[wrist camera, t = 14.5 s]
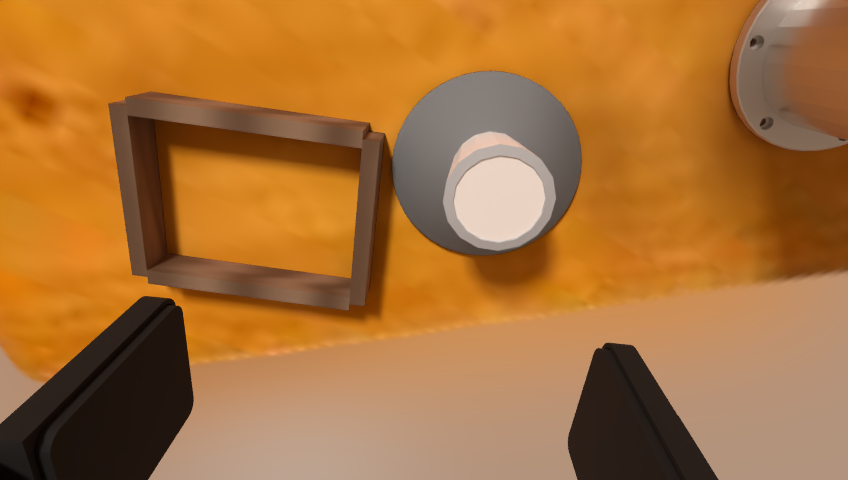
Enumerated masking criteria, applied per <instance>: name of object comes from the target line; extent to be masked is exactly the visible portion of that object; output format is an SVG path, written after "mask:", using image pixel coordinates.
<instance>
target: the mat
mask: <svg viewBox="0 0 848 480" xmlns="http://www.w3.org/2000/svg"><path fill="white" fill-rule="evenodd" d="M489 131H491V132H497V133H503V134H506V135H508V136H509V137H511V138H512V139H514V140H516V141H517V142H519V143H520V144H521V145H523V146H524V147H525V148H527V149H528V150H529V151H531V152H532V153H533V154H535V155H536V156H537V157H539V158H540V159H541V160H542V161H543V163H544V164H545V166H546V167H547V169H548V170H549V172H550V173H551V175H552V177H553V180H554V187H555V194H556V200H555V204H554V207H553V211H552V215H551V218H550V220H549V221H548V222H547V224H546V225H545V226H544V227H543V229H542V230H541V231H540V233H539V234H538V235H537V236H535V237H534V238H532V239H531V240H529V241H527V242H526V243H524V244H522V245H521V246H519V247H514V248H509V249H505V250H500V251H496V250H490V249H483V248H477V247H476V246H474V245H472V244H470V243H469V242H467V241H465V240H463V239H462V238H460V237H459V236H458V234H457V233H456V232H455V230H454V229H453V228H452V227H451V225H450V224H449V223H448V221H447V217H446V213H445V209H444V205H443V198H444V192H445V186H446V181H447V178H448V175H449V172H450V168H451V165H452V162H453V159H454V156H455V155H456V153H457V152H458V150H459V148H460V147H461V145H462V144H463V143H464V142H466V141H467V140H469V139H470V138H471V137H473V136H474V135H477V134H481V133H485V132H489ZM581 161H582V159H581V146H580V141H579V136H578V133H577V131H576V128H575V125H574V123H573V121H572V119H571V117H570V115H569V113H568V112H567V111H566V109H565V108H564V107H563V105H562V104H561V103H560V102H559V101H558V100H557V99H556V98H555V97H554V96H553V95H552V94H551V93H550V92H549V91H547V90H546V89H545V88H543V87H542V86H540V85H539V84H537V83H535V82H533V81H531V80H530V79H527V78H524V77H522V76H519V75H516V74H511V73H507V72H499V71H482V72H474V73H469V74H464V75H461V76H459V77H456V78H453V79H451V80H449V81H447V82H445V83H443V84H441V85H439V86H438V87H436V88H435V89H433V90H432V91H430V92H429V93H428V94H427V95H426V96H425V97H423V98H422V99H421V100H420V101H419V102H418V103H417V105H416V106H415V107H414V108H413V109H412V111H411V112H410V114H409V115H408V117H407V118H406V120H405V121H404V123H403V126H402V128H401V130H400V132H399V134H398V137H397V141H396V144H395V148H394V153H393V163H392V173H393V182H394V187H395V191H396V194H397V197H398V200H399V202H400V204H401V206H402V208H403V210H404V212H405V214H406V215H407V217H408V218H409V219H410V221H411V222H412V223H413V224H414V225H415V226H416V228H417V229H418V230H419V231H420V232H422V233H423V234H424V235H425V236H426V237H428V238H429V239H431V240H432V241H434V242H435V243H437V244H439V245H441V246H443V247H445V248H447V249H450V250H453V251H456V252H460V253H465V254H471V255H495V254H501V253H506V252H509V251H513V250H516V249H518V248H521V247H523V246H526V245H528V244H529V243H531V242H533V241H535V240H536V239H538V238H539V237H541V236H542V235H543V234H545V233H546V232H547V231H548V230H549V229H551V228H552V227H553V226H554V225H555V224H556V223H557V221H558V220H559V219H560V218H561V217H562V215H563V214H564V212H565V211H566V209H567V208H568V206H569V205H570V203H571V201H572V199H573V197H574V194H575V192H576V189H577V186H578V182H579V178H580V173H581Z"/></svg>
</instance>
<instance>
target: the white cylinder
mask: <svg viewBox="0 0 848 480" xmlns="http://www.w3.org/2000/svg"><path fill="white" fill-rule="evenodd" d="M555 200H556V194H555V187H554V180H553V177H552V175H551V173H550V172H549V170H548V169H547V167H546V166H545V164H544V163H543V161H542V160H541V159H540V158H539V157H537V156H536V155H535V154H533V153H532V152H531V151H529V150H528V149H527V148H525V147H524V146H523V145H521V144H520V143H519V142H517V141H516V140H514V139H512V138H511V137H509V136H508V135H506V134H503V133H497V132H491V131H489V132H485V133H481V134H477V135H474V136H473V137H471V138H470V139H469V140H467V141H466V142H464V143H463V144H462V145H461V147H460V148H459V150H458V152H457V153H456V155H455V156H454V159H453V162H452V165H451V168H450V172H449V175H448V178H447V181H446V186H445V192H444V198H443V205H444V209H445V213H446V217H447V221H448V223H449V224H450V225H451V227H452V228H453V229H454V230H455V232H456V233H457V234H458V236H459V237H460V238H462V239H463V240H465V241H467V242H469V243H470V244H472V245H474V246H476V247H477V248H483V249H490V250H496V251H500V250H505V249H509V248H514V247H519V246H521V245H522V244H524V243H526V242H527V241H529V240H531V239H532V238H534V237H535V236H537V235H538V234H539V233H540V231H541V230H542V229H543V227H544V226H545V225H546V224H547V222H548V221H549V220H550V218H551V215H552V211H553V207H554V204H555Z"/></svg>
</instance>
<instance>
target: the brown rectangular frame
mask: <svg viewBox="0 0 848 480" xmlns="http://www.w3.org/2000/svg"><path fill="white" fill-rule="evenodd" d="M109 112H110V119H111V126H112V133H113V140H114V147H115V154H116V162H117V169H118V176H119V183H120V190H121V197H122V204H123V212H124V219H125V226H126V233H127V240H128V247H129V254H130V262H131V269H132V275H137V276H144V277H148V284H156V285H163V286H171V287H178V288H185V289H193V290H200V291H208V292H215V293H222V294H230V295H237V296H245V297H252V298H259V299H267V300H274V301H282V302H289V303H297V304H304V305H311V306H319V307H326V308H334V309H341V310H348V311H349V308H350V305H359V306H364V305H365V302H366V298H367V295H368V291H369V288H370V279H371V269H372V259H373V249H374V239H375V229H376V219H377V209H378V198H379V188H380V178H381V168H382V158H383V148H384V138H385V133H378V132H371V131H369V123H366V122H359V121H352V120H345V119H338V118H331V117H324V116H317V115H310V114H303V113H296V112H289V111H282V110H275V109H268V108H261V107H254V106H247V105H240V104H233V103H226V102H219V101H212V100H205V99H198V98H191V97H184V96H177V95H170V94H163V93H156V92H147V93H142V94H138V95H133V96H128V97H125V100H123V101H119V102H114V103H109ZM154 119H157V120H164V121H171V122H178V123H185V124H192V125H199V126H206V127H214V128H221V129H228V130H235V131H242V132H249V133H256V134H263V135H270V136H277V137H284V138H291V139H298V140H305V141H312V142H319V143H326V144H333V145H340V146H348V147H355V148H362V151H361V163H360V176H359V188H358V201H357V213H356V226H355V238H354V251H353V264H352V276H351V279H350V278H343V277H335V276H328V275H321V274H313V273H306V272H299V271H291V270H284V269H277V268H269V267H262V266H255V265H247V264H240V263H233V262H225V261H218V260H211V259H203V258H196V257H189V256H181V255H174V254H167V245H166V235H165V226H164V216H163V206H162V196H161V187H160V177H159V167H158V157H157V148H156V138H155V128H154Z"/></svg>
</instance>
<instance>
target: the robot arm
mask: <svg viewBox="0 0 848 480" xmlns="http://www.w3.org/2000/svg"><path fill="white" fill-rule="evenodd" d="M751 40H752V44H751V45H750V41H751ZM729 84H730V90H731V97H732V102H733V104H734V107H735V109H736V112H737V114H738V116H739V117H740V119H741V120H742V122H743V123H744V125H745V126H746V127H747V128H748V129H749V130H750V131H751V132H752V133H754V134H755V135H756V136H757V137H758V138H760V139H762V140H764V141H766V142H768V143H770V144H773V145H776V146H779V147H782V148H785V149H790V150H797V151H822V150H826V149H831V148H836V147H840V146H843V145H845V144H848V0H761V1H760V2H759V3H758V4H757V5H756V7H755V8H754V10H753V11H752V13H751V15H750V16H749V18H748V19H747V21H746V23H745V24H744V26H743V28H742V31H741V33H740V35H739V38H738V40H737V42H736V45H735V48H734V52H733V57H732V61H731V65H730V82H729ZM761 121H762V122H761ZM760 122H761V123H760ZM193 401H194V400H193V390H192V382H191V374H190V366H189V358H188V350H187V342H186V334H185V327H184V319H183V312H182V309H181V307H180V306H176V305H175V302H174V301H173V300H172V299H170V298H160V297H150V296H144V297H142V298H140V299H139V300H138V301H137V302H135V303H134V304H133V305H132V306H131V307H130V308H129V309H128V310H127V311H125V312H124V313H123V314H122V315H121V316H120V317H119V318H118V319H117V320H115V321H114V322H113V323H112V324H111V325H110V326H109V327H108V328H107V329H105V330H104V331H103V332H102V333H101V334H100V335H99V336H98V337H97V338H95V339H94V340H93V341H92V342H91V343H90V344H89V345H88V346H87V347H85V348H84V349H83V350H82V351H81V352H80V353H79V354H78V355H77V356H75V357H74V358H73V359H72V360H71V361H70V362H69V363H68V364H67V365H65V366H64V367H63V368H62V369H61V370H60V371H59V372H58V373H57V374H55V375H54V376H53V377H52V378H51V379H50V380H49V381H48V382H47V383H45V384H44V385H43V386H42V387H41V388H40V389H39V390H38V391H37V392H35V393H34V394H33V395H32V396H31V397H30V398H29V399H28V400H27V401H26V402H24V403H23V404H22V405H21V406H20V407H19V408H18V409H17V410H15V411H14V412H13V413H12V414H11V415H10V416H9V417H8V418H6V419H5V420H4V421H3V422H2V423H1V424H0V480H148V479H149V477H150V476H151V474H152V473H153V471H154V470H155V468H156V466H157V465H158V463H159V462H160V460H161V459H162V457H163V456H164V454H165V452H166V451H167V449H168V448H169V446H170V445H171V443H172V442H173V440H174V438H175V437H176V435H177V434H178V432H179V431H180V429H181V428H182V426H183V425H184V423H185V421H186V420H187V418H188V417H189V415H190V413H191V410H192V407H193ZM568 449H569V453H570V457H571V460H572V463H573V466H574V469H575V473H576V476H577V479H578V480H718V478H717V477H716V475H715V474H714V472H713V470H712V469H711V467H710V466H709V464H708V463H707V461H706V459H705V458H704V456H703V454H702V453H701V451H700V449H699V448H698V446H697V445H696V443H695V441H694V440H693V438H692V437H691V435H690V434H689V432H688V430H687V429H686V427H685V426H684V424H683V422H682V421H681V419H680V418H679V416H678V415H677V414H676V412H675V410H674V409H673V407H672V406H671V404H670V402H669V401H668V399H667V398H666V396H665V395H664V393H663V391H662V390H661V388H660V387H659V385H658V383H657V382H656V380H655V379H654V377H653V375H652V374H651V372H650V371H649V369H648V367H647V366H646V364H645V363H644V361H643V359H642V358H641V356H640V355H639V353H638V351H637V350H636V348H635V347H634V346H632V345H625V344H615V343H606V344H604V346H603V347H602V349H600V348H598V349H596V350H595V352H594V355H593V358H592V361H591V365H590V368H589V371H588V374H587V378H586V381H585V384H584V387H583V390H582V394H581V397H580V400H579V403H578V407H577V410H576V413H575V417H574V420H573V423H572V427H571V429H570V432H569V437H568Z"/></svg>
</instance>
